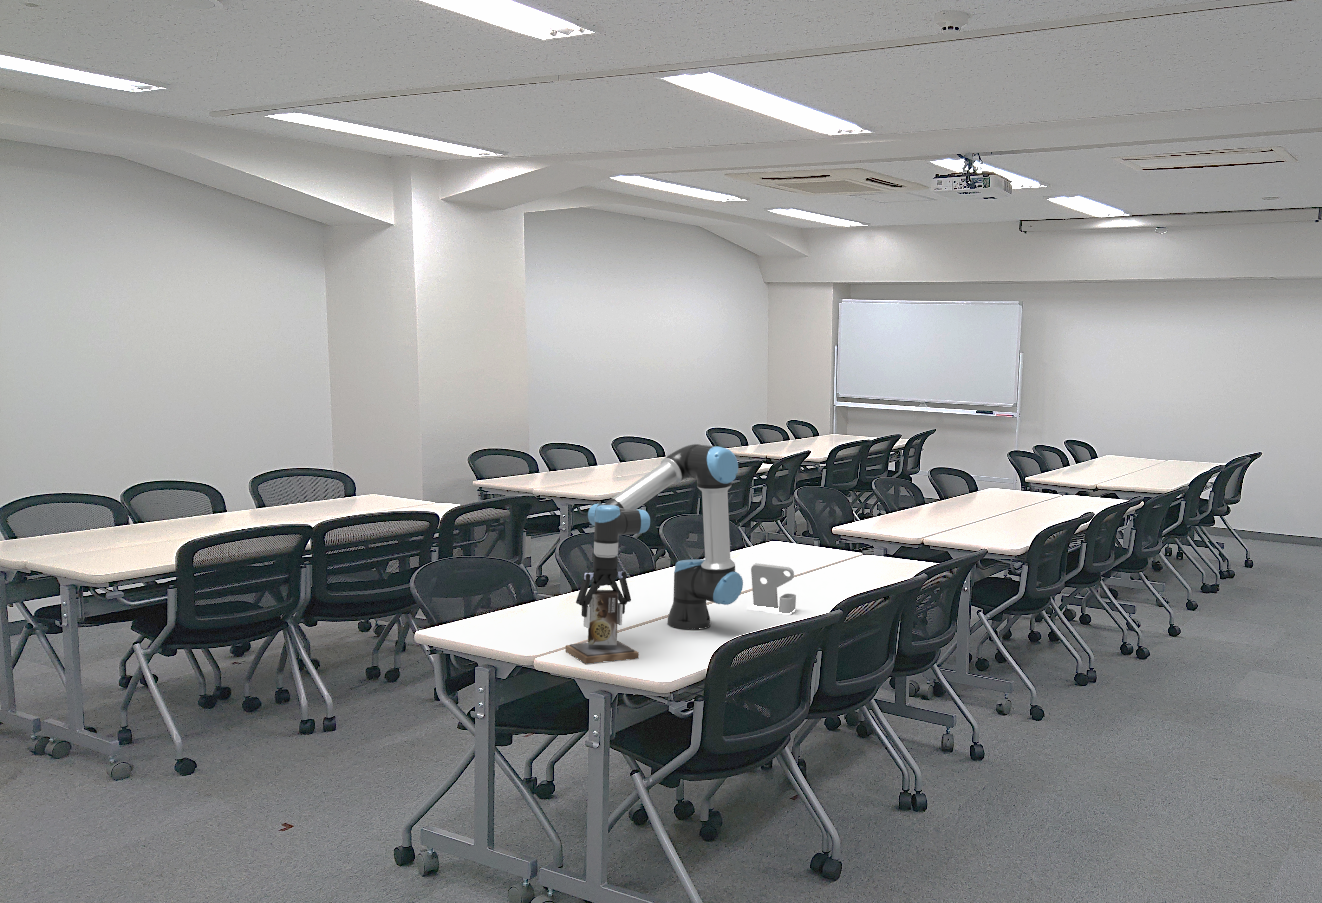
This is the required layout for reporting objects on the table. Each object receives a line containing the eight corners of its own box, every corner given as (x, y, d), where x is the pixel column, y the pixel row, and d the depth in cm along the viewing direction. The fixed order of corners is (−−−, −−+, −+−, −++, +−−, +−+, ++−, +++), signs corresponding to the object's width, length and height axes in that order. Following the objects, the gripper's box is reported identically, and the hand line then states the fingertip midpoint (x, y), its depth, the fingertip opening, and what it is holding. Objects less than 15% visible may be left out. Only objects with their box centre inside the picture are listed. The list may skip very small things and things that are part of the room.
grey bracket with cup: (797, 611, 410) (800, 564, 409) (789, 616, 401) (792, 568, 399) (754, 605, 417) (756, 559, 416) (745, 610, 408) (747, 563, 406)
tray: (616, 646, 348) (617, 638, 348) (638, 658, 335) (638, 650, 334) (565, 651, 339) (565, 643, 339) (585, 664, 326) (585, 656, 326)
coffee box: (616, 640, 340) (619, 589, 339) (616, 645, 333) (618, 594, 332) (587, 639, 340) (589, 588, 338) (587, 644, 333) (589, 593, 332)
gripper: (633, 551, 343) (630, 620, 345) (566, 554, 332) (563, 625, 334) (644, 555, 337) (641, 625, 338) (576, 559, 325) (573, 631, 327)
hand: (602, 625), depth 336 cm, fingers closed on coffee box, 10 cm apart
